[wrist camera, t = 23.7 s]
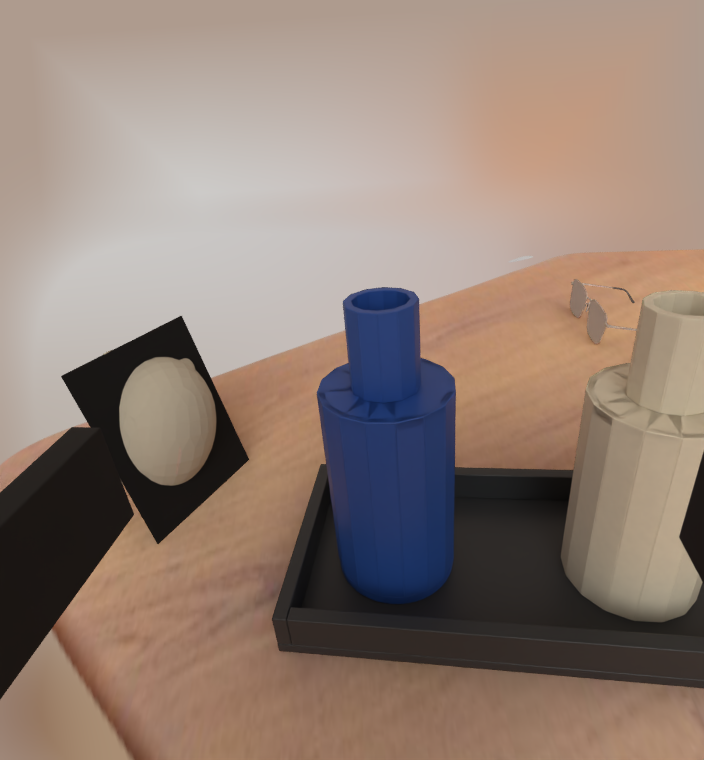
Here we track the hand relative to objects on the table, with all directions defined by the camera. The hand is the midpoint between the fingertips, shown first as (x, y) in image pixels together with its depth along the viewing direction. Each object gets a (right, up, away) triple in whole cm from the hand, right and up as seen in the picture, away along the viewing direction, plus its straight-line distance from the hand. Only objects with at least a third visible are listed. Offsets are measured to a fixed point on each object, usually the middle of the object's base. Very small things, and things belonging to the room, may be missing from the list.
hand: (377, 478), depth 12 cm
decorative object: (-15, -6, +29) cm, 33 cm away
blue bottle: (+2, -9, +20) cm, 22 cm away
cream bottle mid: (+15, -9, +18) cm, 25 cm away
